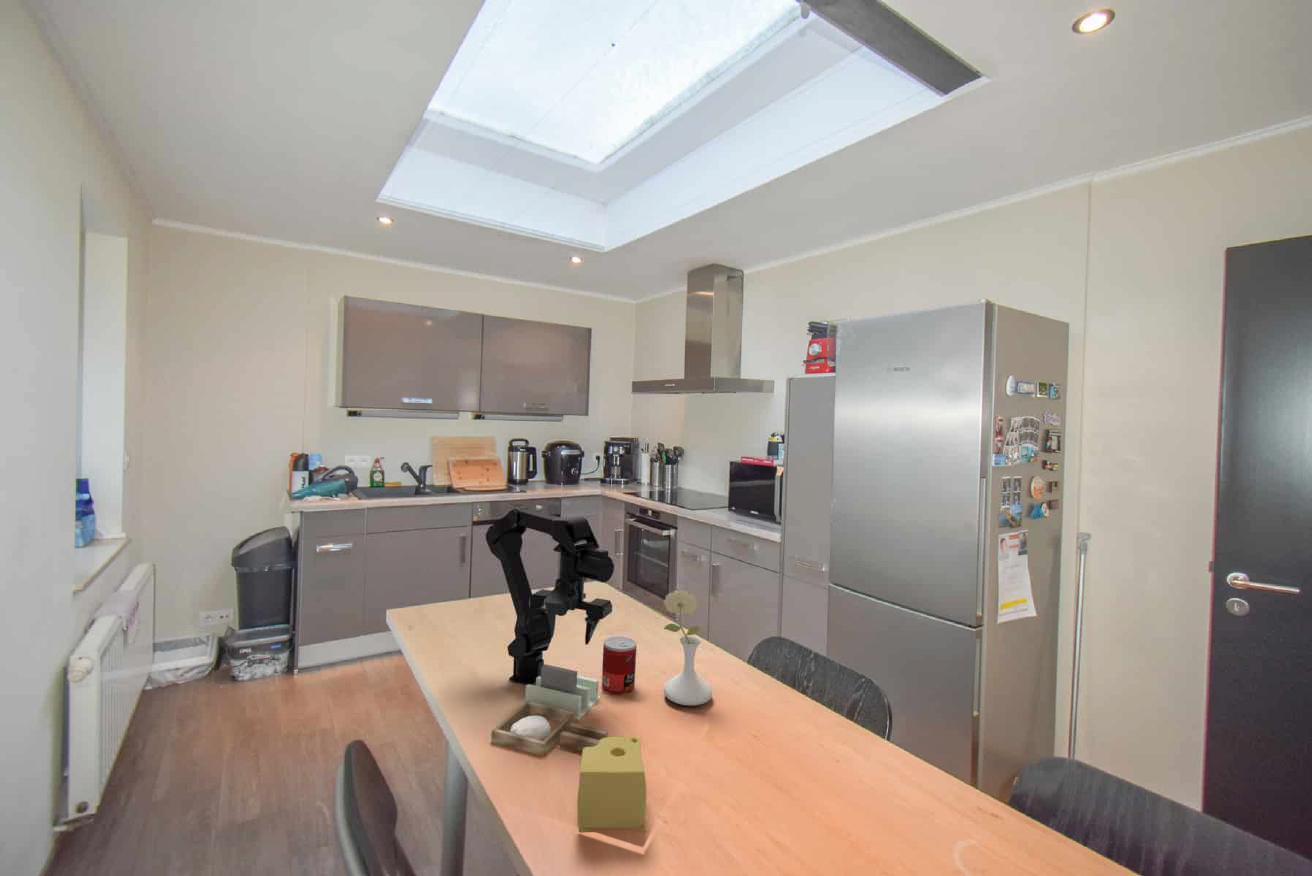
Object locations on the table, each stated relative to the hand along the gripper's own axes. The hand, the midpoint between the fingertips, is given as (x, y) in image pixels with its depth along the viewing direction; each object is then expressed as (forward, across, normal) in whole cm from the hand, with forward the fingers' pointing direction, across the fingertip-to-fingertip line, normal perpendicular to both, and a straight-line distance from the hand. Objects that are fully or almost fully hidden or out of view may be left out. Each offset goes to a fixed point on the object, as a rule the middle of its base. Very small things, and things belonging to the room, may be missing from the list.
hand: (569, 640), depth 131 cm
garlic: (+14, +1, -18) cm, 22 cm away
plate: (+12, +1, -6) cm, 13 cm away
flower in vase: (+13, +25, +11) cm, 30 cm away
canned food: (+13, +9, +9) cm, 18 cm away
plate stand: (+13, +13, -17) cm, 25 cm away
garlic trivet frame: (+13, +2, -17) cm, 21 cm away
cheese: (+13, +25, -31) cm, 42 cm away
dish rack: (+13, +1, -4) cm, 14 cm away
